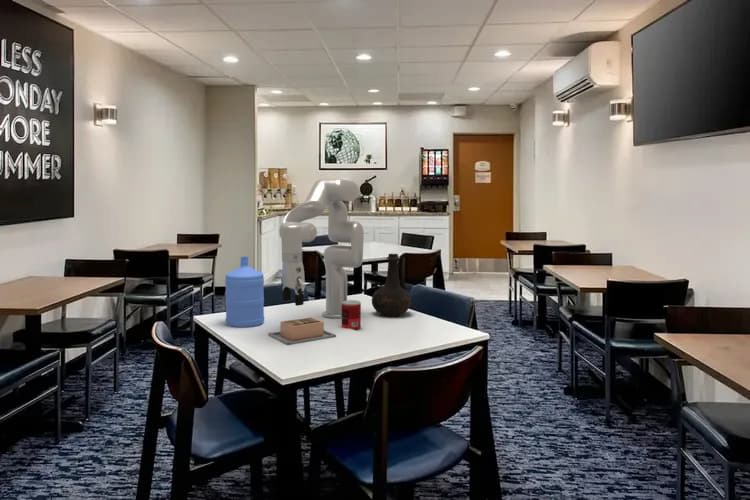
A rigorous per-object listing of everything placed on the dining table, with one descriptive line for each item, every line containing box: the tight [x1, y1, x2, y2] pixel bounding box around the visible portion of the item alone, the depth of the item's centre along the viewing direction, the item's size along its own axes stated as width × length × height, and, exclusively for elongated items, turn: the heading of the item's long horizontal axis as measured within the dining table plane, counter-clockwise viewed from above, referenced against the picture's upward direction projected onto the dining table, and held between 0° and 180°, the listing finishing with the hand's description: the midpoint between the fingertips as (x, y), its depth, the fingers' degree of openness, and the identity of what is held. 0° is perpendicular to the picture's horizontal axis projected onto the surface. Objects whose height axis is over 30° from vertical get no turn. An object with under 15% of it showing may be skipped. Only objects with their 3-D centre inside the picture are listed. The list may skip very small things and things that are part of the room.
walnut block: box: [300, 319, 318, 324], centre depth 201 cm, size 5×5×5 cm
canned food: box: [341, 299, 362, 331], centre depth 216 cm, size 8×8×11 cm
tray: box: [267, 329, 337, 346], centre depth 200 cm, size 20×16×2 cm
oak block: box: [286, 320, 304, 326], centre depth 198 cm, size 5×5×5 cm
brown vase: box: [371, 253, 412, 317], centre depth 242 cm, size 18×18×28 cm
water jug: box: [224, 256, 265, 328], centre depth 222 cm, size 16×16×28 cm
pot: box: [279, 317, 325, 341], centre depth 200 cm, size 13×9×6 cm
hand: (293, 302), depth 201 cm, fingers open, 9 cm apart
